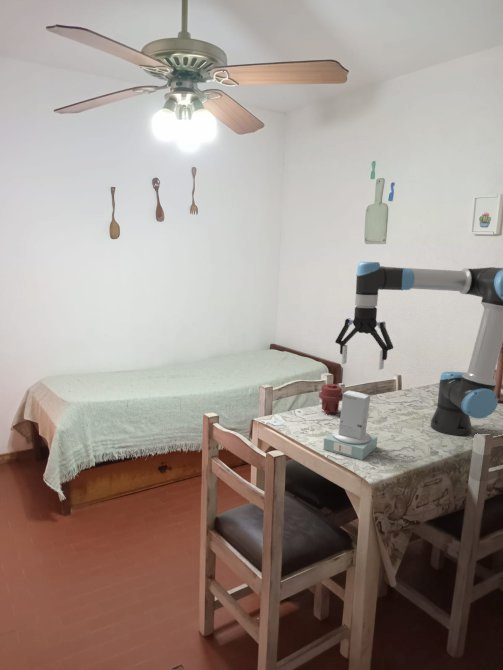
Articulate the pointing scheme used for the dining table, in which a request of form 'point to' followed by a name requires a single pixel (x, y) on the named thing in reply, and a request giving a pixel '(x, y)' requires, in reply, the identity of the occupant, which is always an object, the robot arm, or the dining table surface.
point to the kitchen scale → (350, 445)
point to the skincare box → (354, 414)
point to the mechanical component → (330, 398)
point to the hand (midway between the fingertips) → (362, 366)
